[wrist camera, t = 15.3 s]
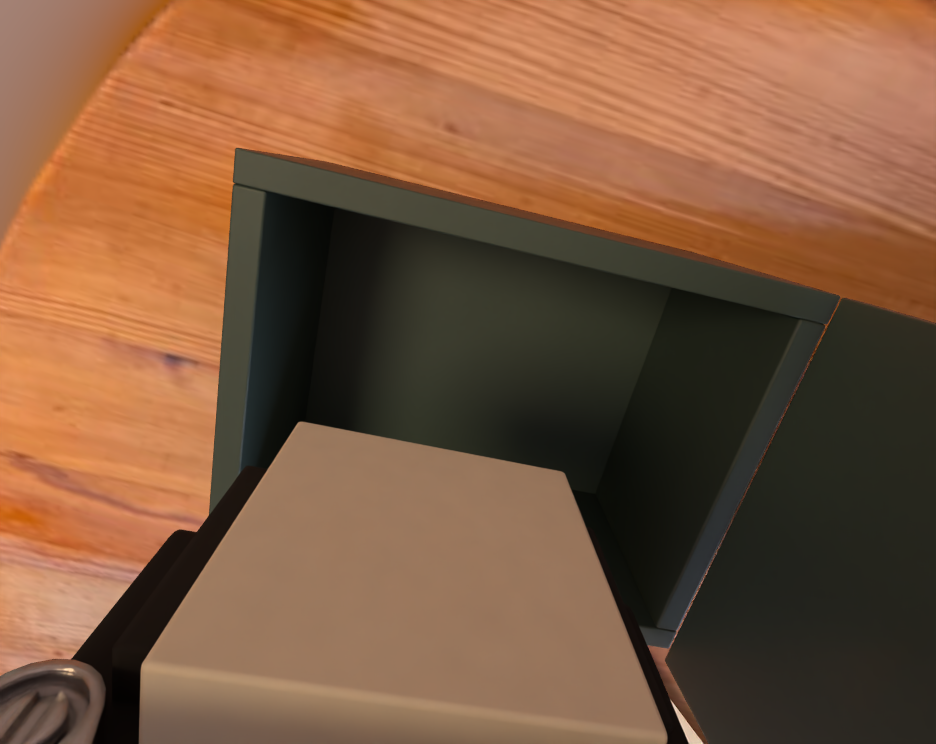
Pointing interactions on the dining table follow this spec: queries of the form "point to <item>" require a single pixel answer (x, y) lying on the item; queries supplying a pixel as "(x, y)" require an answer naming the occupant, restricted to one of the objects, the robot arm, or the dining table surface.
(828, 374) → the lid
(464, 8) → the dining table surface
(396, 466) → the block
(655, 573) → the chest
